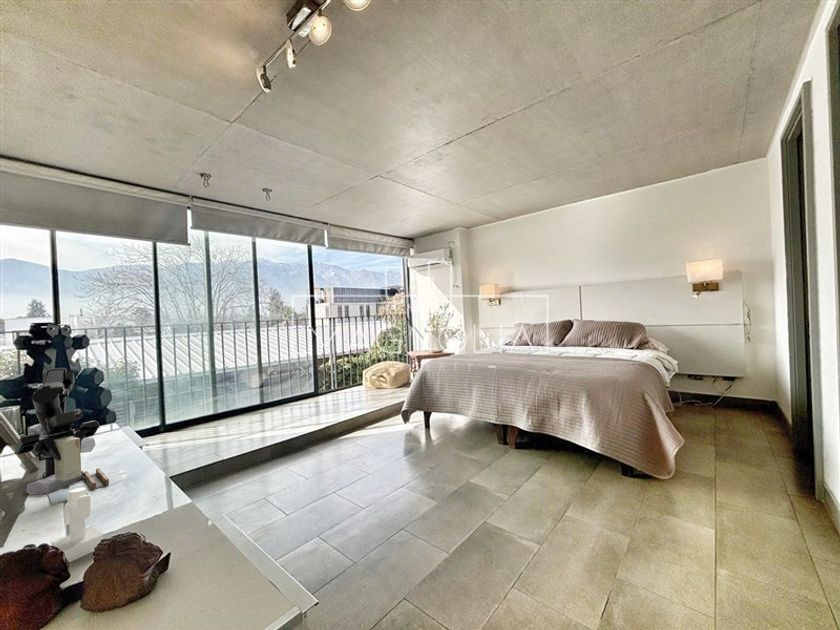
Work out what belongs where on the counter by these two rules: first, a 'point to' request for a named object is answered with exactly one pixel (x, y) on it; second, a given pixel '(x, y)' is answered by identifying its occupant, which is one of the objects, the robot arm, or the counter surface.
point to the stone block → (50, 484)
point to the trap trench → (96, 479)
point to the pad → (62, 495)
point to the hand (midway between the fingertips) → (69, 457)
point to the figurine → (78, 526)
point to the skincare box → (68, 458)
